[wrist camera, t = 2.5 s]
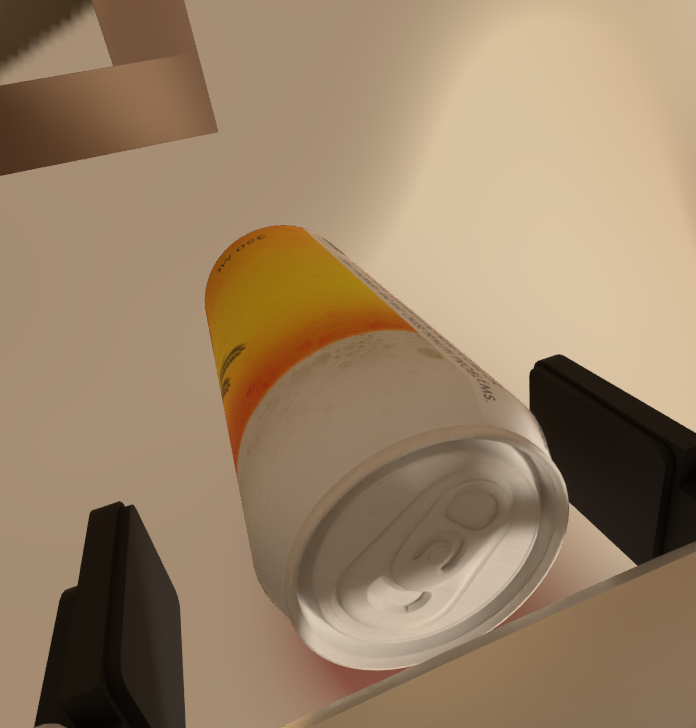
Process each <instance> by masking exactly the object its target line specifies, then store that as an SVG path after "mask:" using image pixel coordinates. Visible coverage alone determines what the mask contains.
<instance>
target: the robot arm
mask: <svg viewBox="0 0 696 728" xmlns="http://www.w3.org/2000/svg"><path fill="white" fill-rule="evenodd" d="M529 383H530V384H529V387H530V388H529V390H530V411H531V413H532V414H533V415H534V416H535V418H536V420H537V421H538V423H539V424H540V426H541V429H542V431H543V433H544V436H545V438H546V442H547V445H548V449H549V452H550V455H551V459H552V461H553V462H554V463H555V465H556V467H557V468H558V470H559V471H560V473H561V475H562V477H563V480H564V482H565V484H566V489H567V493H568V500H569V502H570V503H571V504H572V505H573V506H574V507H575V508H576V509H577V510H578V511H579V512H580V513H582V514H583V515H584V516H585V517H586V518H587V519H588V520H589V521H590V522H591V523H592V524H593V525H595V526H596V527H597V528H598V529H599V530H600V531H601V532H602V533H603V534H604V535H605V536H606V537H607V538H608V539H609V540H610V541H612V542H613V543H614V544H615V545H616V546H617V547H618V548H619V549H620V550H621V551H622V552H623V553H624V554H626V555H627V556H628V557H629V558H630V559H631V560H632V561H633V562H634V563H635V564H636V565H638V566H637V567H634V568H632V569H630V570H628V571H626V572H623V573H621V574H618V575H616V576H614V577H612V578H610V579H607V580H605V581H603V582H600V583H598V584H596V585H594V586H591V587H589V588H587V589H585V590H583V591H580V592H578V593H576V594H573V595H571V596H569V597H566V598H564V599H562V600H560V601H557V602H555V603H553V604H551V605H548V606H546V607H544V608H542V609H540V610H537V611H535V612H533V613H531V614H528V615H526V616H524V617H522V618H520V619H517V620H515V621H513V622H510V623H508V624H506V625H504V626H502V627H499V628H497V629H495V630H493V631H490V632H488V633H486V634H484V635H482V636H479V637H477V638H475V639H473V640H470V641H468V642H466V643H464V644H462V645H459V646H457V647H455V648H453V649H450V650H448V651H446V652H444V653H441V654H439V655H437V656H435V657H433V658H430V659H428V660H426V661H424V662H422V663H419V664H417V665H415V666H413V667H411V668H408V669H406V670H404V671H402V672H400V673H398V674H395V675H393V676H391V677H389V678H387V679H384V680H382V681H380V682H378V683H376V684H373V685H371V686H369V687H367V688H365V689H362V690H360V691H358V692H356V693H354V694H351V695H349V696H347V697H345V698H343V699H340V700H338V701H336V702H334V703H332V704H329V705H327V706H325V707H323V708H321V709H318V710H316V711H314V712H312V713H310V714H308V715H306V716H304V717H301V718H300V719H297V720H295V721H293V722H291V723H289V724H287V725H285V726H283V727H280V728H696V433H695V432H693V431H691V430H690V429H688V428H686V427H685V426H683V425H681V424H679V423H678V422H676V421H674V420H672V419H671V418H669V417H667V416H666V415H664V414H662V413H661V412H659V411H657V410H655V409H654V408H652V407H650V406H649V405H647V404H645V403H644V402H642V401H640V400H638V399H637V398H635V397H633V396H631V395H630V394H628V393H626V392H625V391H623V390H621V389H620V388H618V387H616V386H615V385H613V384H611V383H609V382H607V381H606V380H604V379H603V378H601V377H599V376H597V375H596V374H594V373H592V372H591V371H589V370H587V369H585V368H584V367H582V366H580V365H579V364H577V363H575V362H573V361H572V360H570V359H568V358H567V357H565V356H563V355H560V354H559V355H554V356H552V357H549V358H546V359H542V360H539V361H537V362H536V363H535V365H534V369H532V370H531V372H530V376H529ZM183 683H184V682H183V661H182V641H181V619H180V605H179V600H178V596H177V593H176V591H175V588H174V586H173V584H172V582H171V580H170V578H169V576H168V574H167V572H166V570H165V568H164V566H163V564H162V561H161V559H160V557H159V555H158V553H157V551H156V549H155V547H154V545H153V543H152V541H151V539H150V537H149V534H148V533H147V530H146V528H145V526H144V524H143V522H142V520H141V518H140V516H139V514H138V512H137V510H136V508H135V506H134V505H129V506H126V507H125V506H124V504H123V503H122V502H120V501H119V502H116V503H113V504H110V505H107V506H104V507H101V508H98V509H95V510H92V511H91V512H90V515H89V521H88V527H87V533H86V538H85V544H84V550H83V556H82V562H81V568H80V574H79V580H78V586H75V587H72V588H70V589H67V590H65V591H64V592H63V593H62V595H61V598H60V601H59V606H58V611H57V616H56V621H55V626H54V631H53V636H52V641H51V646H50V651H49V656H48V661H47V666H46V671H45V676H44V681H43V685H42V690H41V696H40V701H39V705H38V711H37V716H36V721H35V726H34V728H186V725H185V703H184V684H183Z"/></svg>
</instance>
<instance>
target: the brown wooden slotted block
mask: <svg viewBox="0 0 696 728" xmlns="http://www.w3.org/2000/svg"><path fill="white" fill-rule="evenodd" d="M92 3H93V6H94V9H95V12H96V15H97V18H98V21H99V24H100V27H101V30H102V33H103V36H104V39H105V42H106V45H107V48H108V51H109V54H110V57H111V60H112V63H113V67H107V68H101V69H95V70H89V71H84V72H78V73H72V74H66V75H61V76H54V77H49V78H43V79H37V80H31V81H25V82H19V83H13V84H8V85H1V86H0V176H1V175H6V174H11V173H16V172H21V171H26V170H31V169H36V168H41V167H46V166H51V165H56V164H61V163H66V162H71V161H76V160H81V159H86V158H91V157H96V156H101V155H106V154H111V153H116V152H121V151H126V150H131V149H136V148H141V147H146V146H151V145H156V144H161V143H166V142H171V141H176V140H181V139H186V138H191V137H195V136H201V135H206V134H211V133H216V132H218V129H217V125H216V121H215V118H214V114H213V110H212V106H211V102H210V99H209V95H208V91H207V87H206V83H205V80H204V75H203V72H202V68H201V64H200V60H199V57H198V53H197V49H196V45H195V41H194V37H193V34H192V30H191V26H190V22H189V18H188V15H187V10H186V7H185V3H184V0H92Z"/></svg>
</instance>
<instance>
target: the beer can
mask: <svg viewBox="0 0 696 728" xmlns="http://www.w3.org/2000/svg"><path fill="white" fill-rule="evenodd" d="M205 309H206V315H207V321H208V326H209V331H210V336H211V341H212V346H213V352H214V358H215V363H216V368H217V373H218V379H219V384H220V389H221V395H222V400H223V405H224V411H225V416H226V421H227V427H228V432H229V437H230V443H231V448H232V453H233V458H234V463H235V469H236V474H237V479H238V484H239V490H240V496H241V501H242V506H243V511H244V517H245V522H246V527H247V533H248V537H249V543H250V548H251V554H252V559H253V564H254V569H255V572H256V575H257V578H258V580H259V583H260V584H261V586H262V588H263V590H264V592H265V593H266V595H267V596H268V597H269V598H270V600H271V601H272V602H273V603H274V604H275V605H276V606H277V607H278V608H279V609H280V610H281V611H282V612H283V613H284V614H285V615H286V616H287V617H288V618H289V619H290V620H291V622H292V625H293V626H294V628H295V630H296V632H297V634H298V635H299V637H300V638H301V639H302V640H303V642H304V643H305V644H306V645H307V646H308V647H309V648H310V649H311V650H313V651H314V652H315V653H316V654H318V655H320V656H321V657H323V658H324V659H326V660H329V661H331V662H333V663H336V664H339V665H342V666H345V667H349V668H355V669H362V670H390V669H398V668H405V667H409V666H414V665H417V664H419V663H422V662H424V661H426V660H428V659H430V658H433V657H435V656H437V655H439V654H441V653H444V652H446V651H448V650H450V649H453V648H455V647H457V646H459V645H462V644H464V643H466V642H468V641H470V640H473V639H475V638H477V637H479V636H482V635H484V634H486V633H488V632H490V631H491V630H492V629H494V628H495V627H496V626H498V625H499V624H500V623H502V622H503V621H504V620H505V619H507V618H508V617H509V616H510V615H511V614H512V613H514V612H515V611H516V610H517V609H518V608H519V607H520V606H521V605H522V604H523V603H524V602H525V601H526V600H527V599H528V597H529V596H530V595H531V594H532V593H533V592H534V591H535V589H536V588H537V587H538V586H539V584H540V583H541V582H542V580H543V579H544V577H545V576H546V574H547V573H548V571H549V569H550V568H551V566H552V564H553V563H554V561H555V559H556V557H557V555H558V552H559V550H560V548H561V545H562V543H563V540H564V536H565V533H566V529H567V524H568V516H569V500H568V493H567V489H566V484H565V482H564V480H563V477H562V475H561V473H560V471H559V470H558V468H557V467H556V465H555V463H554V462H553V461H552V459H551V455H550V452H549V449H548V445H547V442H546V438H545V436H544V433H543V431H542V429H541V426H540V424H539V423H538V421H537V420H536V418H535V416H534V415H533V414H532V413H531V411H530V410H529V409H528V408H527V407H526V406H525V405H524V404H523V403H522V402H521V401H520V400H518V399H517V398H516V397H515V396H514V395H512V394H511V393H510V392H509V391H508V390H506V389H505V388H504V387H503V386H502V385H500V384H499V383H498V382H497V381H495V380H494V379H493V378H492V377H491V376H489V375H488V374H487V373H486V372H485V371H484V370H482V369H481V368H480V367H479V366H478V365H476V364H475V363H474V362H473V361H472V360H471V359H469V358H468V357H467V356H466V355H464V354H463V353H462V352H461V351H460V350H459V349H457V348H456V347H455V346H454V345H452V344H451V343H450V342H449V341H448V340H447V339H445V338H444V337H443V336H442V335H441V334H439V333H438V332H437V331H436V330H435V329H433V328H432V327H431V326H430V325H429V324H427V323H426V322H425V321H424V320H423V319H421V318H420V317H419V316H418V315H416V314H415V313H414V312H413V311H412V310H411V309H409V308H408V307H407V306H406V305H405V304H403V303H402V302H401V301H400V300H399V299H398V298H396V297H395V296H394V295H393V294H391V293H390V292H389V291H388V290H387V289H386V288H384V287H383V286H382V285H381V284H380V283H378V282H377V281H376V280H375V279H374V278H372V277H371V276H370V275H369V274H368V273H366V272H365V271H364V270H363V269H361V268H360V267H359V266H358V265H357V264H356V263H354V262H353V261H352V260H351V259H350V258H348V257H347V256H346V255H345V254H344V253H342V252H341V251H340V250H339V249H338V248H336V247H335V246H334V245H333V244H332V243H330V242H329V241H328V240H327V239H325V238H324V237H322V236H321V235H319V234H317V233H315V232H313V231H310V230H308V229H304V228H301V227H296V226H286V225H281V226H270V227H265V228H261V229H258V230H255V231H253V232H251V233H249V234H246V235H245V236H243V237H241V238H240V239H238V240H237V241H235V242H234V243H233V244H232V245H230V247H228V248H227V249H226V250H225V251H224V253H223V254H222V255H221V256H220V258H219V259H218V260H217V262H216V264H215V265H214V267H213V269H212V271H211V273H210V276H209V279H208V282H207V287H206V292H205Z"/></svg>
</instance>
